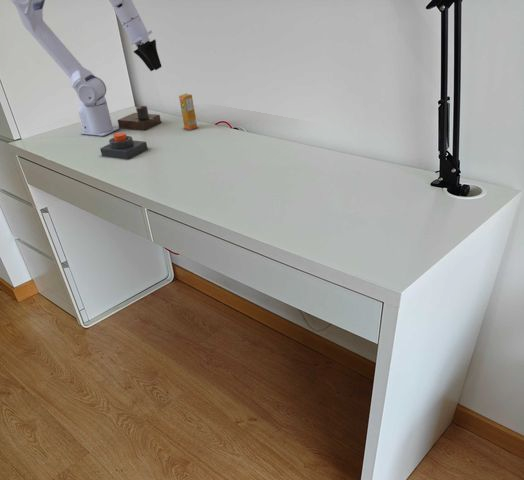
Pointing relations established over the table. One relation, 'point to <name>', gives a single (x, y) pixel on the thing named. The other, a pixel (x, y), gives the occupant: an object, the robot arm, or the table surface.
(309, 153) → the table surface
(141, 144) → the switch block
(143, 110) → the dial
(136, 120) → the brown wooden block
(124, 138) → the button
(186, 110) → the supplement box
